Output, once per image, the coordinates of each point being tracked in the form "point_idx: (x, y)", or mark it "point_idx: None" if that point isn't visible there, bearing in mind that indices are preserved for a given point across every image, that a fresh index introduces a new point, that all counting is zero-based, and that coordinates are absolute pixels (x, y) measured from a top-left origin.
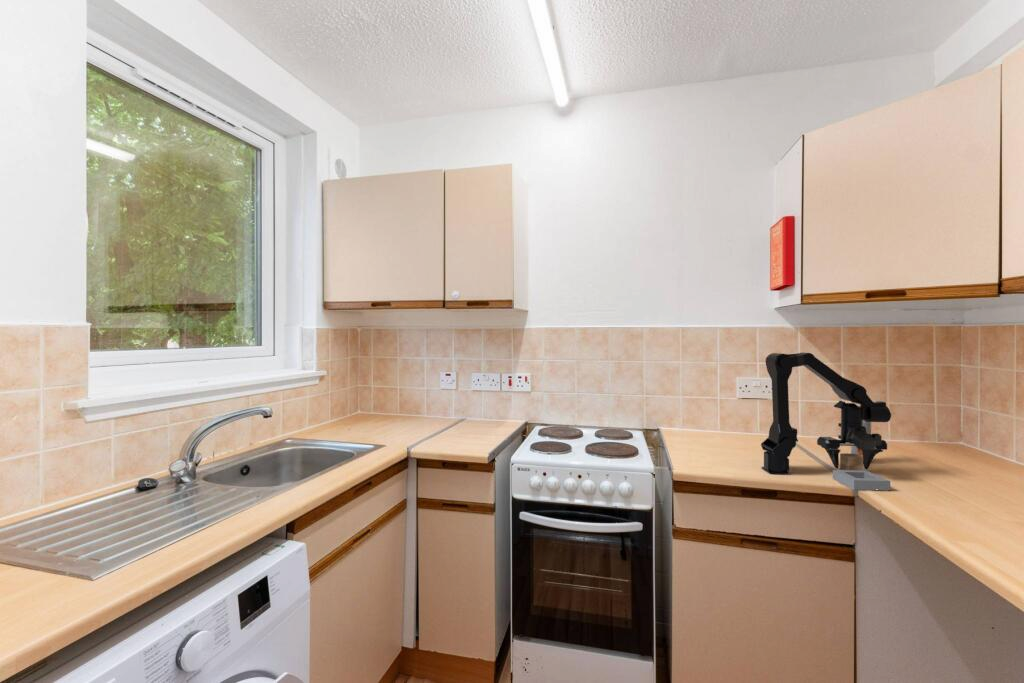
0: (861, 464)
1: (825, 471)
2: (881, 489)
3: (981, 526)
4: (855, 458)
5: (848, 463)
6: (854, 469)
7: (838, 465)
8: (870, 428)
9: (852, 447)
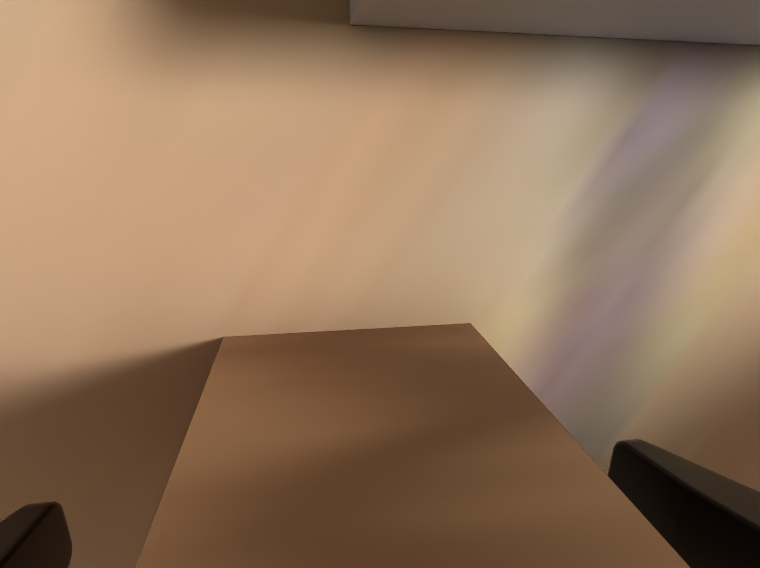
0: (217, 489)
1: (674, 453)
2: None
3: None
4: None
5: (591, 474)
6: (398, 382)
7: (675, 477)
8: None
9: None
